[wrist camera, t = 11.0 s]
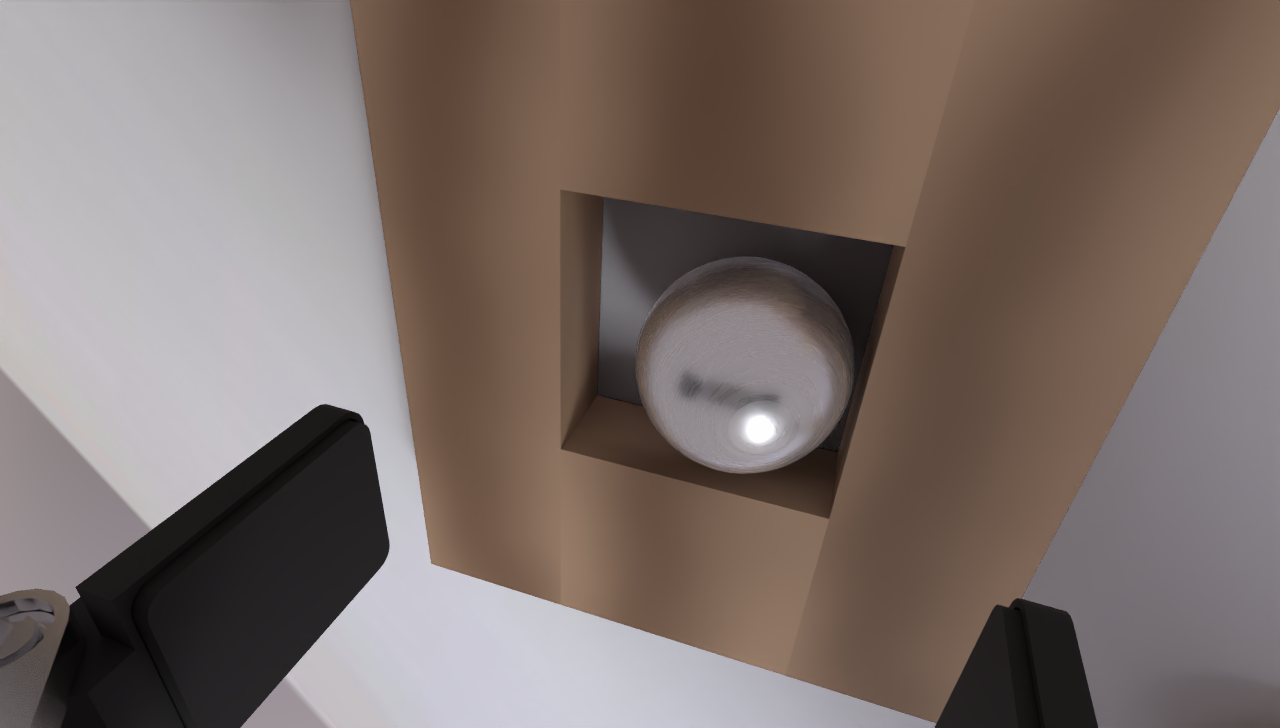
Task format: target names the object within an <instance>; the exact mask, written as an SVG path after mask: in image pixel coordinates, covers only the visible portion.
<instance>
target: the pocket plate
mask: <svg viewBox="0 0 1280 728" xmlns="http://www.w3.org/2000/svg"><path fill="white" fill-rule="evenodd" d="M350 4H351V11H352V17H353V24H354V31H355V38H356V45H357V52H358V59H359V66H360V73H361V80H362V87H363V94H364V101H365V108H366V115H367V121H368V128H369V135H370V142H371V149H372V156H373V163H374V170H375V177H376V184H377V191H378V198H379V205H380V212H381V218H382V225H383V232H384V239H385V246H386V253H387V260H388V267H389V274H390V281H391V288H392V295H393V302H394V309H395V316H396V322H397V329H398V336H399V343H400V350H401V357H402V364H403V371H404V378H405V385H406V392H407V399H408V406H409V413H410V419H411V426H412V433H413V440H414V447H415V454H416V461H417V468H418V475H419V482H420V489H421V496H422V503H423V510H424V517H425V523H426V530H427V537H428V544H429V551H430V558H431V564H434V565H437V566H440V567H443V568H447V569H450V570H453V571H456V572H459V573H462V574H466V575H469V576H472V577H475V578H478V579H481V580H485V581H488V582H491V583H494V584H497V585H500V586H504V587H507V588H510V589H513V590H516V591H519V592H523V593H526V594H529V595H532V596H535V597H538V598H542V599H545V600H548V601H551V602H554V603H557V604H561V605H564V606H567V607H570V608H573V609H576V610H580V611H583V612H586V613H589V614H592V615H595V616H599V617H602V618H605V619H608V620H611V621H614V622H618V623H621V624H624V625H627V626H630V627H633V628H637V629H640V630H643V631H646V632H649V633H652V634H656V635H659V636H662V637H665V638H668V639H671V640H675V641H678V642H681V643H684V644H687V645H690V646H694V647H697V648H700V649H703V650H706V651H709V652H712V653H716V654H719V655H722V656H725V657H728V658H731V659H735V660H738V661H741V662H744V663H747V664H750V665H754V666H757V667H760V668H763V669H766V670H769V671H773V672H776V673H779V674H782V675H785V676H788V677H792V678H795V679H798V680H801V681H804V682H807V683H811V684H814V685H817V686H820V687H823V688H826V689H830V690H833V691H836V692H839V693H842V694H845V695H849V696H852V697H855V698H858V699H861V700H864V701H868V702H871V703H874V704H877V705H880V706H883V707H887V708H890V709H893V710H896V711H899V712H902V713H906V714H909V715H912V716H915V717H918V718H921V719H925V720H928V721H931V722H934V723H937V722H938V720H939V717H940V715H941V713H942V711H943V709H944V707H945V705H946V703H947V701H948V699H949V697H950V695H951V693H952V691H953V689H954V687H955V685H956V683H957V681H958V679H959V677H960V675H961V673H962V671H963V669H964V667H965V665H966V663H967V660H968V658H969V656H970V654H971V652H972V650H973V648H974V646H975V644H976V642H977V640H978V638H979V636H980V634H981V632H982V630H983V628H984V626H985V624H986V622H987V620H988V618H989V616H990V614H991V612H992V610H993V608H994V607H995V606H996V605H997V604H998V605H1002V606H1005V607H1009V606H1010V604H1011V603H1012V601H1013V600H1015V599H1016V598H1019V599H1021V598H1022V596H1023V594H1024V592H1025V591H1026V589H1027V587H1028V585H1029V583H1030V581H1031V579H1032V577H1033V575H1034V573H1035V572H1036V570H1037V568H1038V566H1039V564H1040V562H1041V560H1042V558H1043V556H1044V554H1045V553H1046V551H1047V549H1048V547H1049V545H1050V543H1051V541H1052V539H1053V537H1054V535H1055V534H1056V532H1057V530H1058V528H1059V526H1060V524H1061V522H1062V520H1063V518H1064V516H1065V515H1066V513H1067V511H1068V509H1069V507H1070V505H1071V503H1072V501H1073V499H1074V497H1075V496H1076V494H1077V492H1078V490H1079V488H1080V486H1081V484H1082V482H1083V480H1084V478H1085V477H1086V475H1087V473H1088V471H1089V469H1090V467H1091V465H1092V463H1093V461H1094V459H1095V458H1096V456H1097V454H1098V452H1099V450H1100V448H1101V446H1102V444H1103V442H1104V440H1105V439H1106V437H1107V435H1108V433H1109V431H1110V429H1111V427H1112V425H1113V423H1114V421H1115V420H1116V418H1117V416H1118V414H1119V412H1120V410H1121V408H1122V406H1123V404H1124V402H1125V401H1126V399H1127V397H1128V395H1129V393H1130V391H1131V389H1132V387H1133V385H1134V383H1135V382H1136V380H1137V378H1138V376H1139V374H1140V372H1141V370H1142V368H1143V366H1144V364H1145V363H1146V361H1147V359H1148V357H1149V355H1150V353H1151V351H1152V349H1153V347H1154V345H1155V344H1156V342H1157V340H1158V338H1159V336H1160V334H1161V332H1162V330H1163V328H1164V326H1165V325H1166V323H1167V321H1168V319H1169V317H1170V315H1171V313H1172V311H1173V309H1174V307H1175V306H1176V304H1177V302H1178V300H1179V298H1180V296H1181V294H1182V292H1183V290H1184V288H1185V287H1186V285H1187V283H1188V281H1189V279H1190V277H1191V275H1192V273H1193V271H1194V269H1195V268H1196V266H1197V264H1198V262H1199V260H1200V258H1201V256H1202V254H1203V252H1204V250H1205V249H1206V247H1207V245H1208V243H1209V241H1210V239H1211V237H1212V235H1213V233H1214V232H1215V230H1216V228H1217V226H1218V224H1219V222H1220V220H1221V218H1222V216H1223V214H1224V213H1225V211H1226V209H1227V207H1228V205H1229V203H1230V201H1231V199H1232V197H1233V195H1234V194H1235V192H1236V190H1237V188H1238V186H1239V184H1240V182H1241V180H1242V178H1243V176H1244V175H1245V173H1246V171H1247V169H1248V167H1249V165H1250V163H1251V161H1252V159H1253V157H1254V156H1255V154H1256V152H1257V150H1258V148H1259V146H1260V144H1261V142H1262V140H1263V138H1264V137H1265V135H1266V133H1267V131H1268V129H1269V127H1270V125H1271V123H1272V121H1273V119H1274V118H1275V116H1276V114H1277V112H1278V110H1279V108H1280V0H350ZM604 197H608V198H614V199H620V200H627V201H633V202H639V203H645V204H651V205H657V206H663V207H669V208H675V209H681V210H687V211H693V212H699V213H705V214H711V215H717V216H723V217H729V218H735V219H741V220H747V221H753V222H759V223H765V224H771V225H777V226H783V227H789V228H795V229H801V230H807V231H813V232H819V233H825V234H831V235H837V236H843V237H849V238H855V239H861V240H867V241H873V242H879V243H885V244H891V245H894V246H893V250H892V254H891V257H890V261H889V265H888V269H887V272H886V276H885V280H884V283H883V287H882V291H881V294H880V298H879V302H878V305H877V309H876V313H875V317H874V320H873V324H872V328H871V331H870V335H869V339H868V342H867V346H866V350H865V354H864V357H863V361H862V365H861V368H860V372H859V376H858V379H857V383H856V387H855V390H854V394H853V398H852V402H851V405H850V409H849V413H848V416H847V420H846V424H845V427H844V431H843V435H842V439H841V442H840V446H839V450H838V453H837V452H833V451H829V450H825V449H821V448H816V449H814V450H813V451H811V452H810V453H809V454H807V455H806V456H804V457H802V458H801V459H799V460H797V461H795V462H793V463H791V464H789V465H787V466H784V467H781V468H778V469H775V470H771V471H767V472H760V473H745V474H740V473H729V472H723V471H719V470H715V469H712V468H709V467H706V466H704V465H701V464H699V463H697V462H694V461H693V460H691V459H689V458H687V457H686V456H684V455H683V454H682V453H680V452H679V451H678V450H676V449H675V448H674V447H673V446H671V445H670V444H669V443H668V442H667V441H666V440H665V439H664V438H663V437H662V435H661V434H660V433H659V432H658V430H657V429H656V428H655V426H654V425H653V423H652V422H651V420H650V418H649V416H648V415H647V413H646V411H645V408H644V406H639V405H635V404H631V403H627V402H623V401H618V400H614V399H610V398H606V397H602V396H597V383H598V352H599V321H600V290H601V260H602V229H603V198H604Z"/></svg>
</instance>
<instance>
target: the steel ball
mask: <svg viewBox="0 0 1280 728" xmlns="http://www.w3.org/2000/svg"><path fill="white" fill-rule="evenodd" d="M854 371H855V357H854V349H853V343H852V338H851V335H850V332H849V328H848V326H847V324H846V322H845V320H844V318H843V315H842V313H841V311H840V309H839V308H838V307H837V305H836V304H835V302H834V301H833V300H832V298H831V297H830V296H829V295H828V293H827V292H826V291H825V290H824V289H823V288H822V287H821V286H820V285H819V284H818V283H816V282H815V281H814V280H812V279H811V278H810V277H808V276H807V275H805V274H804V273H802V272H801V271H799V270H797V269H795V268H793V267H791V266H789V265H786V264H783V263H781V262H778V261H774V260H770V259H766V258H760V257H750V256H746V257H731V258H724V259H720V260H716V261H712V262H709V263H706V264H704V265H701V266H699V267H697V268H695V269H693V270H691V271H689V272H688V273H686V274H684V275H683V276H682V277H680V278H679V279H677V280H676V281H675V282H674V283H673V284H672V285H670V286H669V287H668V288H667V289H666V290H665V291H664V293H663V294H662V295H661V296H660V297H659V298H658V300H657V301H656V302H655V304H654V305H653V307H652V308H651V310H650V312H649V313H648V315H647V317H646V319H645V322H644V324H643V326H642V329H641V333H640V336H639V339H638V343H637V350H636V359H635V374H636V380H637V386H638V391H639V395H640V398H641V401H642V404H643V406H644V408H645V411H646V413H647V415H648V416H649V418H650V420H651V422H652V423H653V425H654V426H655V428H656V429H657V430H658V432H659V433H660V434H661V435H662V437H663V438H664V439H665V440H666V441H667V442H668V443H669V444H670V445H671V446H673V447H674V448H675V449H676V450H678V451H679V452H680V453H682V454H683V455H684V456H686V457H687V458H689V459H691V460H693V461H694V462H697V463H699V464H701V465H704V466H706V467H709V468H712V469H715V470H719V471H723V472H729V473H740V474H745V473H760V472H767V471H771V470H775V469H778V468H781V467H784V466H787V465H789V464H791V463H793V462H795V461H797V460H799V459H801V458H802V457H804V456H806V455H807V454H809V453H810V452H811V451H813V450H814V449H816V448H817V447H818V446H819V445H820V444H821V443H822V442H823V441H824V440H825V439H826V438H827V437H828V436H829V434H830V433H831V432H832V431H833V429H834V428H835V426H836V425H837V423H838V422H839V420H840V419H841V417H842V415H843V413H844V411H845V409H846V407H847V404H848V401H849V398H850V395H851V392H852V387H853V382H854Z"/></svg>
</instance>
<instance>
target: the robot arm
mask: <svg viewBox="0 0 1280 728" xmlns="http://www.w3.org/2000/svg"><path fill="white" fill-rule="evenodd" d="M388 552H389V538H388V532H387V526H386V520H385V515H384V509H383V503H382V497H381V492H380V486H379V480H378V475H377V469H376V463H375V457H374V452H373V446H372V440H371V434H370V430H369V428H368V427H367V425H365V424H364V422H363V419H362V417H361V416H360V415H359V414H358V413H356V412H352V411H349V410H345V409H342V408H338V407H334V406H331V405H327V404H324V405H319V406H318V407H316V408H314V409H313V410H311V411H310V412H309V413H307V414H306V415H305V416H303V417H302V418H301V419H299V420H298V421H297V422H295V423H294V424H293V425H291V426H290V427H289V428H287V429H286V430H285V431H283V432H282V433H281V434H279V435H278V436H277V437H275V438H274V439H273V440H271V441H270V442H269V443H267V444H266V445H265V446H263V447H262V448H261V449H259V450H258V451H257V452H255V453H254V454H253V455H251V456H250V457H249V458H247V459H246V460H245V461H243V462H242V463H241V464H239V465H238V466H237V467H235V468H234V469H233V470H231V471H230V472H229V473H227V474H226V475H225V476H223V477H222V478H221V479H219V480H218V481H217V482H215V483H214V484H213V485H211V486H210V487H209V488H207V489H206V490H205V491H203V492H202V493H201V494H199V495H198V496H197V497H195V498H194V499H193V500H191V501H190V502H189V503H187V504H186V505H185V506H183V507H182V508H181V509H179V510H178V511H177V512H175V513H174V514H173V515H171V516H170V517H169V518H167V519H166V520H165V521H163V522H162V523H161V524H159V525H158V526H157V527H155V528H154V529H153V530H151V531H150V532H148V533H147V534H146V535H145V536H144V537H142V538H140V539H139V540H138V541H137V542H135V543H134V544H133V545H131V546H130V547H128V548H127V549H126V550H125V551H123V552H122V553H120V554H119V555H118V556H117V557H115V558H114V559H112V560H111V561H110V562H108V563H107V564H106V565H104V566H103V567H102V568H101V569H99V570H98V571H96V572H95V573H94V574H93V575H91V576H90V577H89V578H87V579H86V580H84V581H83V582H82V583H80V584H79V585H78V586H76V589H77V591H78V593H79V595H80V598H79V599H78V600H76V601H75V602H74V603H72V604H71V605H70V606H69V604H68V603H67V601H66V599H65V597H63V596H62V595H60V594H58V593H56V592H55V591H51V590H43V589H30V590H21V591H15V592H12V593H9V594H5V595H2V596H0V728H240V727H241V726H242V725H243V724H244V723H245V722H246V721H247V719H248V718H249V717H250V716H251V715H252V714H253V713H254V711H255V710H256V709H257V708H258V707H259V706H260V705H261V703H262V702H263V701H264V700H265V699H266V698H267V697H268V695H269V694H270V693H271V692H272V691H273V689H275V687H276V686H277V685H278V684H279V683H280V682H281V681H282V679H283V678H284V677H285V676H286V675H287V674H288V673H289V671H290V670H291V669H292V668H293V667H294V666H295V665H296V663H297V662H298V661H299V660H300V659H301V658H302V657H303V655H304V654H305V653H306V652H307V651H308V650H309V649H310V648H311V646H312V645H313V644H314V643H315V642H316V641H317V640H318V638H319V637H320V636H321V635H322V634H323V633H324V632H325V630H326V629H327V628H328V627H329V626H330V625H331V624H332V622H333V621H334V620H335V619H336V618H337V617H338V616H339V614H340V613H341V612H342V611H343V610H344V609H345V608H346V606H347V605H348V604H349V603H350V602H351V601H352V600H353V598H354V597H355V596H356V595H357V594H358V593H359V592H360V590H361V589H362V588H363V587H364V586H365V585H366V584H367V582H368V581H369V580H370V579H371V578H372V577H373V576H374V574H375V573H376V572H377V571H378V570H379V569H380V568H381V566H382V565H383V564H384V562H385V560H386V558H387V555H388ZM935 728H1098V725H1097V721H1096V717H1095V713H1094V708H1093V704H1092V700H1091V696H1090V692H1089V688H1088V683H1087V679H1086V675H1085V671H1084V667H1083V663H1082V658H1081V654H1080V650H1079V646H1078V642H1077V638H1076V633H1075V629H1074V625H1073V622H1072V619H1071V616H1070V615H1069V614H1068V613H1067V612H1066V611H1063V610H1059V609H1055V608H1052V607H1048V606H1045V605H1041V604H1038V603H1034V602H1030V601H1027V600H1023V599H1019V598H1016V599H1015V600H1013V601H1012V603H1011V604H1010V606H1009V607H1005V606H1002V605H998V604H997V605H996V606H995V607H994V608H993V610H992V612H991V614H990V616H989V618H988V620H987V622H986V624H985V626H984V628H983V630H982V632H981V634H980V636H979V638H978V640H977V642H976V644H975V646H974V648H973V650H972V652H971V654H970V656H969V658H968V660H967V663H966V665H965V667H964V669H963V671H962V673H961V675H960V677H959V679H958V681H957V683H956V685H955V687H954V689H953V691H952V693H951V695H950V697H949V699H948V701H947V703H946V705H945V707H944V709H943V711H942V713H941V715H940V717H939V720H938V722H937V724H936V726H935Z"/></svg>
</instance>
